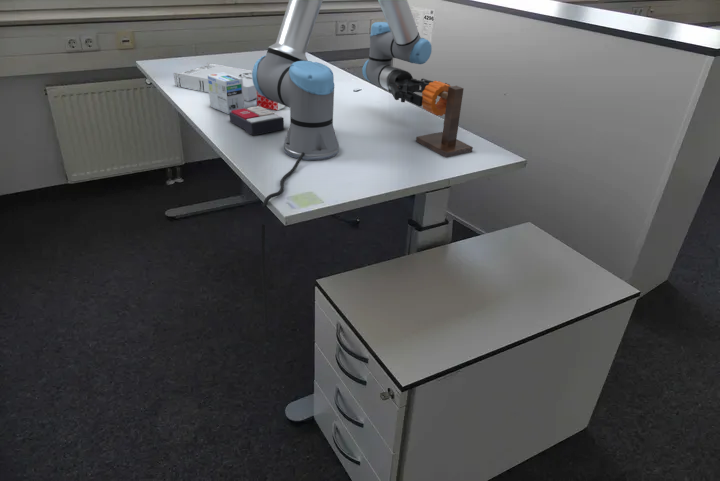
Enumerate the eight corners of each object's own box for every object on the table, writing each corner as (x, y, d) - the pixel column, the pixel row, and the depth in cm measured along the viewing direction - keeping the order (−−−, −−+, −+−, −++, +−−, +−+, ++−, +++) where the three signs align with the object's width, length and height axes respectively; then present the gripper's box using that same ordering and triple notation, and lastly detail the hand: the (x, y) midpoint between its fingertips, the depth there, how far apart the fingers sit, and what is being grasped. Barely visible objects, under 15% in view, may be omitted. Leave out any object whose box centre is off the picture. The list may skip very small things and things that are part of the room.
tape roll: (429, 118, 161) (432, 86, 156) (419, 113, 164) (422, 82, 159) (453, 114, 165) (457, 83, 160) (443, 109, 168) (446, 79, 164)
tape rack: (472, 151, 163) (481, 90, 154) (445, 157, 158) (454, 94, 149) (438, 134, 174) (445, 76, 165) (412, 139, 169) (418, 79, 160)
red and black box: (260, 104, 179) (284, 115, 169) (261, 117, 181) (284, 129, 171) (228, 109, 173) (251, 121, 163) (229, 123, 175) (252, 135, 165)
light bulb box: (245, 110, 185) (243, 78, 179) (228, 115, 180) (225, 81, 175) (226, 103, 191) (223, 71, 185) (209, 107, 186) (206, 74, 181)
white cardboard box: (208, 75, 220) (207, 62, 218) (279, 89, 208) (278, 75, 206) (175, 86, 205) (173, 72, 203) (249, 101, 194) (248, 87, 191)
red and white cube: (277, 110, 187) (277, 86, 183) (257, 107, 189) (255, 83, 185) (288, 104, 193) (288, 81, 189) (268, 100, 195) (267, 78, 191)
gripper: (426, 88, 185) (469, 106, 170) (363, 96, 173) (403, 117, 158) (428, 65, 181) (473, 81, 166) (364, 72, 169) (406, 90, 154)
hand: (439, 98), depth 162 cm, fingers open, 13 cm apart
